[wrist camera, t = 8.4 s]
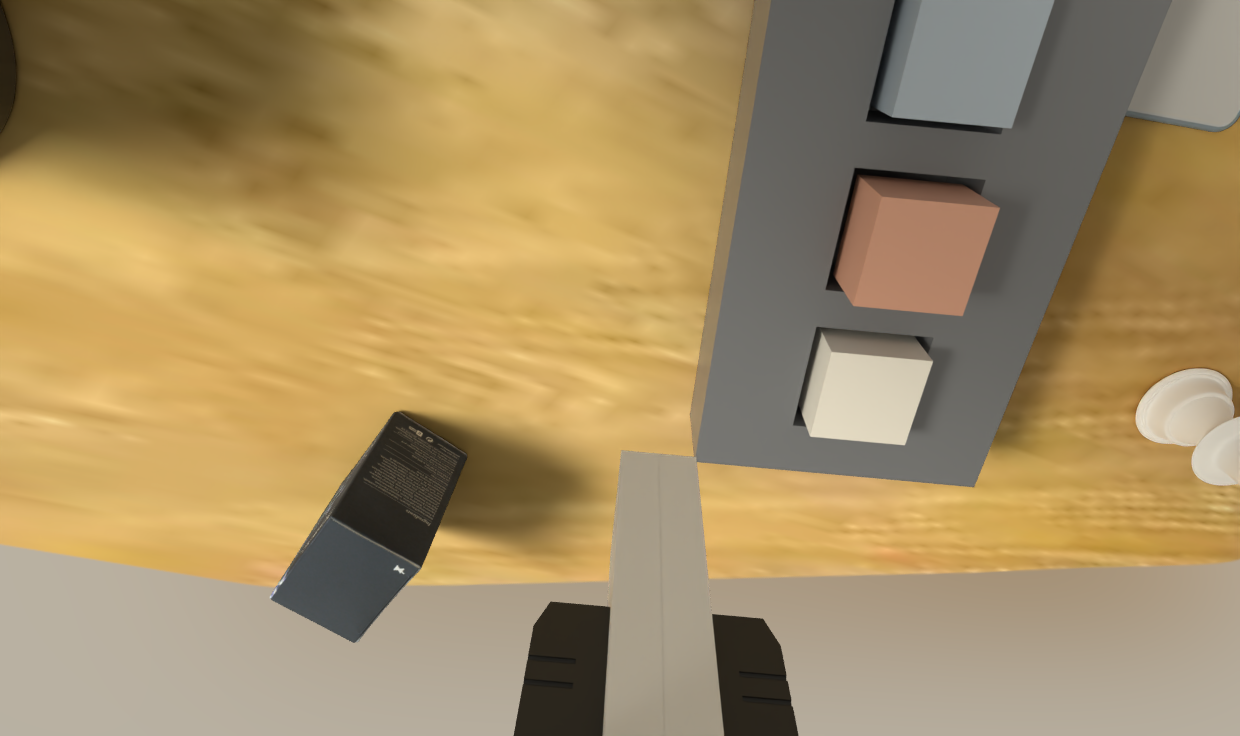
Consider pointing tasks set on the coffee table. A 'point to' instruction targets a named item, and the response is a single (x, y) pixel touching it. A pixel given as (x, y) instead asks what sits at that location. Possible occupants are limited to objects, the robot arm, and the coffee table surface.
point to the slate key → (959, 59)
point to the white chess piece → (1195, 421)
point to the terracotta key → (913, 244)
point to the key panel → (817, 211)
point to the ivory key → (863, 385)
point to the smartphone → (1193, 68)
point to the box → (373, 530)
